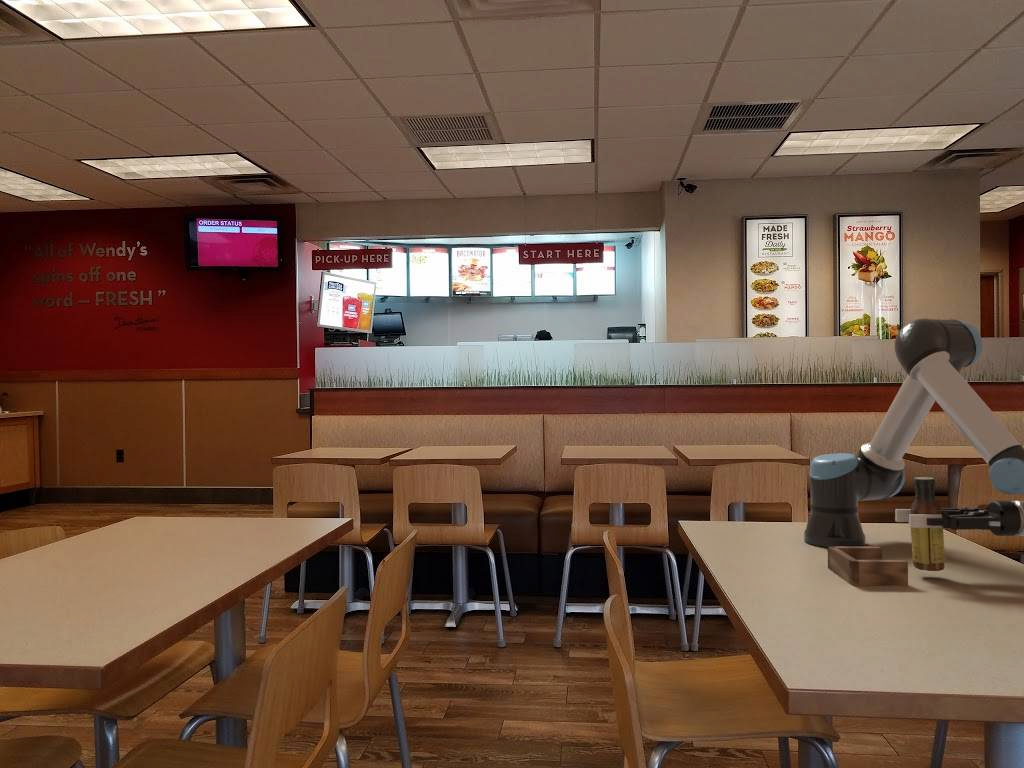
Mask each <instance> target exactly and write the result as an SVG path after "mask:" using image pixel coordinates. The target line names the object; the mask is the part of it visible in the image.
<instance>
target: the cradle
mask: <svg viewBox="0 0 1024 768" xmlns="http://www.w3.org/2000/svg"><path fill="white" fill-rule="evenodd" d="M827 569H828V570H830V571H831V572H833V573H834V574H835V575H837V576H838V577H840V578H841V579H842V580H843V581H845V582H847V583H849V584H850V586H907V587H908V586H909V561H907V560H905V559H883V548H882V547H880V546H862V547H846V546H828V547H827Z"/></svg>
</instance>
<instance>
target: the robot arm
mask: <svg viewBox="0 0 1024 768" xmlns="http://www.w3.org/2000/svg"><path fill="white" fill-rule="evenodd" d="M982 352H983V340H982V338H981V334H980V332H979V330H978V329H977V328H976V327H975V326H974V325H973V324H971V323H969V322H967V321H965V320H964V321H963V320H959V319H954V318H951V319H950V318H949V319H939V318H937V319H936V318H935V319H934V318H918V319H914V320H911V321H909V322H907V323H906V324H904V325H903V326H902V327H901V328H900V329H899V330H898V332H897V334H896V336H895V339H894V353H895V356H896V358H897V361H898V363H899V364H900V366H901V367H902V369H903V370H904V372H905V373H906V374H907V375H906V377H905V379H904V380H903V382H902V384H901V386H900V387H899V389H898V392H897V394H895V396H894V399H893V400H892V403H891V404H890V406H889V408H888V410H887V412H886V413H885V414H884V415H885V416H884V417H883V419H882V420H881V423H879V424H880V425H879V426H878V428H877V430H876V431H875V434H874V435H873V437H872V439H871V441H870V442H866V443H863V444H862V445H861V447H860V449H859V450H858V451H857V454H856V455H855V454H853V453H842V452H839V453H828V454H826V453H825V454H821V455H818V456H815V457H813V458H812V459H811V460H810V468H809V469H810V470H809V485H810V489H809V490H810V493H809V494H810V495H809V496H810V514H809V517H808V521H807V523H806V527H805V530H804V533H803V541H804V542H805V543H807V544H810V545H813V546H817V547H825V548H828V546H846V547H866V534H865V533H864V530H863V527H862V523H861V520H860V517H859V511H858V510H859V509H858V508H859V507H858V506H859V505H858V504H859V502H862V501H875V500H876V501H879V500H885V499H887V498H891V497H894V496H895V495H897V494H898V493H900V491H901V489H902V488H903V487H904V484H905V481H906V476H905V475H904V474H905V472H906V471H905V466H906V464H905V461H904V458H903V457H904V456H905V454H906V452H907V450H908V448H910V446H911V443H912V442H913V440H914V439H915V437H916V435H917V433H918V431H919V430H920V428H921V426H922V425H923V422H924V421H925V419H926V418H927V416H928V414H929V412H930V410H932V407H933V405H934V404H935V402H936V403H937V404H938V405H939V406H940V408H941V409H942V410H943V412H944V413H945V414H946V415H947V416H948V418H949V419H950V420H951V421H952V422H953V423H954V425H955V426H956V427H957V429H958V430H959V431H960V432H961V434H963V436H964V437H965V438H966V440H967V441H968V442H969V443H970V444H971V446H972V447H973V448H974V449H975V450H976V452H977V453H978V454H979V456H980V457H981V458H982V459H983V460H984V461H985V462H986V464H987V465H988V466H989V472H988V476H989V479H990V484H991V485H992V486H993V488H994V489H995V490H997V491H998V492H1000V493H1002V494H1006V495H1018V496H1022V495H1024V446H1022V445H1021V443H1020V442H1019V441H1018V440H1017V439H1016V438H1015V436H1014V435H1013V434H1012V433H1011V432H1010V430H1008V429H1007V427H1006V426H1005V424H1003V422H1002V421H1001V420H1000V419H999V418H998V416H996V414H995V413H994V412H993V410H991V408H990V407H989V406H988V405H987V404H986V403H985V401H984V400H983V399H982V398H981V397H980V396H979V394H978V393H977V392H976V391H975V389H973V388H972V387H971V385H970V384H969V383H968V382H967V380H966V379H965V378H964V377H963V376H962V375H961V373H960V372H961V371H962V369H963V368H968V367H970V366H972V365H974V364H975V363H976V362H978V360H979V359H980V358H981V355H982ZM986 507H987V508H986V509H983V508H982V507H972V508H970V507H941V511H942V515H940V514H911V510H910V508H909V509H907V508H905V509H904V508H900V509H899V508H895V509H894V510H895V512H894V513H895V514H894V515H895V516H894V519H895V522H897V523H908V527H909V528H910V529H911V528H942V526H943V529H944V528H945V529H950V530H952V531H956V530H957V531H958V530H959V531H960V530H965V531H967V530H989V531H990V532H991V533H992V535H995V536H998V537H1014V536H1021V537H1024V500H1011V501H1010V500H992V501H991V502H990V503H988V505H987V506H986Z"/></svg>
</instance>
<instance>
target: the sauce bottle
mask: <svg viewBox="0 0 1024 768" xmlns="http://www.w3.org/2000/svg"><path fill="white" fill-rule="evenodd" d="M913 484H914V489H915V491H914V492H915V495H914V500H913V501H912V503H911V505H910V507H909V509H910V510H911V514H940V515H942V511H941V508H942V507H941V505H940V504H939V501H938V500H937V499H936V495H935V485H936V481H935V478H934V477H929V476H928V477H927V476H920V477H919V476H917V477H914V478H913ZM910 537H911V539H910V540H911V555H912V563H913V567H914V568H915V569H918V570H921V571H928V572H940V571H944V569H945V562H946V556H945V554H946V553H945V536H944V527H943V526H942V528H910Z"/></svg>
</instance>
